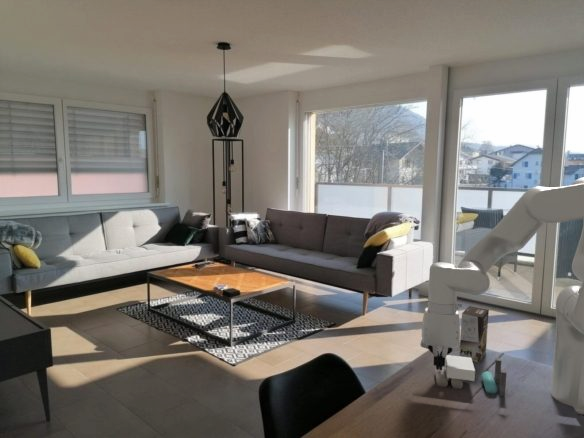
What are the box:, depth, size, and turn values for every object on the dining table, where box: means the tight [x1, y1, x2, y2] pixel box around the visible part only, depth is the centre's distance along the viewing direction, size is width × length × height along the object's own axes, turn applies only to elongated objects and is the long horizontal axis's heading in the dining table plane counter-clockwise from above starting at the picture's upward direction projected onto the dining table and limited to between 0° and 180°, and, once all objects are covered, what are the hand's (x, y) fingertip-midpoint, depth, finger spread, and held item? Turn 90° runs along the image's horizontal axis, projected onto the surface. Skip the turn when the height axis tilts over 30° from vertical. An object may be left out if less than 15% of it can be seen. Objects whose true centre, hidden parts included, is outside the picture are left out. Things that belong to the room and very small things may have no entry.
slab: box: [445, 354, 476, 382], centre depth 122 cm, size 7×8×3 cm
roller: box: [481, 371, 498, 394], centre depth 121 cm, size 7×3×3 cm, turn 165°
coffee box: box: [458, 305, 490, 363], centre depth 139 cm, size 9×6×16 cm
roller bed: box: [434, 357, 507, 397], centre depth 122 cm, size 18×9×8 cm, turn 74°
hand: (438, 367), depth 124 cm, fingers closed
